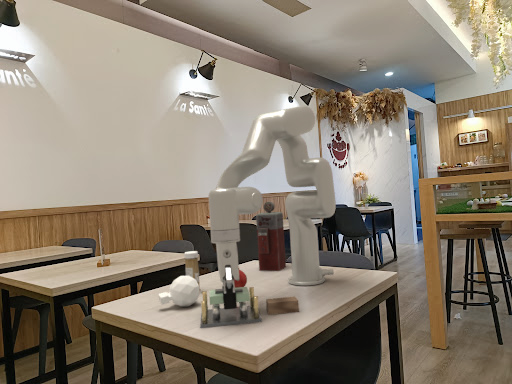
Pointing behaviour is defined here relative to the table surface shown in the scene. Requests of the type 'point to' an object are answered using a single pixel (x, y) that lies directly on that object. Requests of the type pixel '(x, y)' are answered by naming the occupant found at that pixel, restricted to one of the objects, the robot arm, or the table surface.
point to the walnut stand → (282, 305)
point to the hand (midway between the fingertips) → (229, 303)
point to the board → (217, 294)
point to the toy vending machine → (270, 239)
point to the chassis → (230, 313)
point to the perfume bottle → (181, 292)
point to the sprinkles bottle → (192, 265)
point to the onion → (241, 280)
